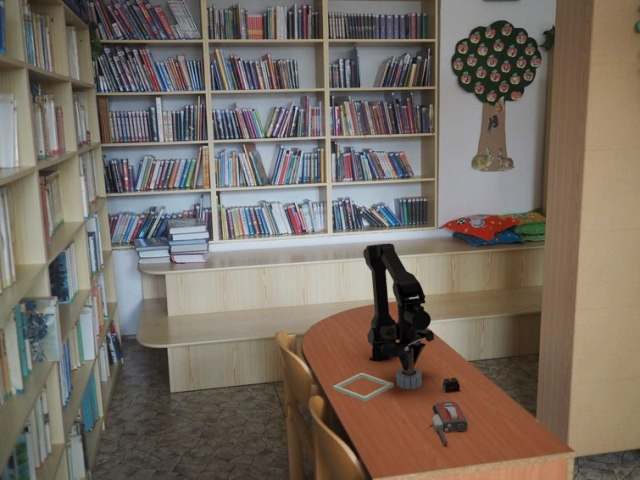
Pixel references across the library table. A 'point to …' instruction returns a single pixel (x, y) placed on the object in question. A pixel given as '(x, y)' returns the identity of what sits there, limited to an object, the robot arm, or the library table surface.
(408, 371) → the dowel
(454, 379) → the black angular piece
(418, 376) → the ring
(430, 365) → the library table surface
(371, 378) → the tray
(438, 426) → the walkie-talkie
